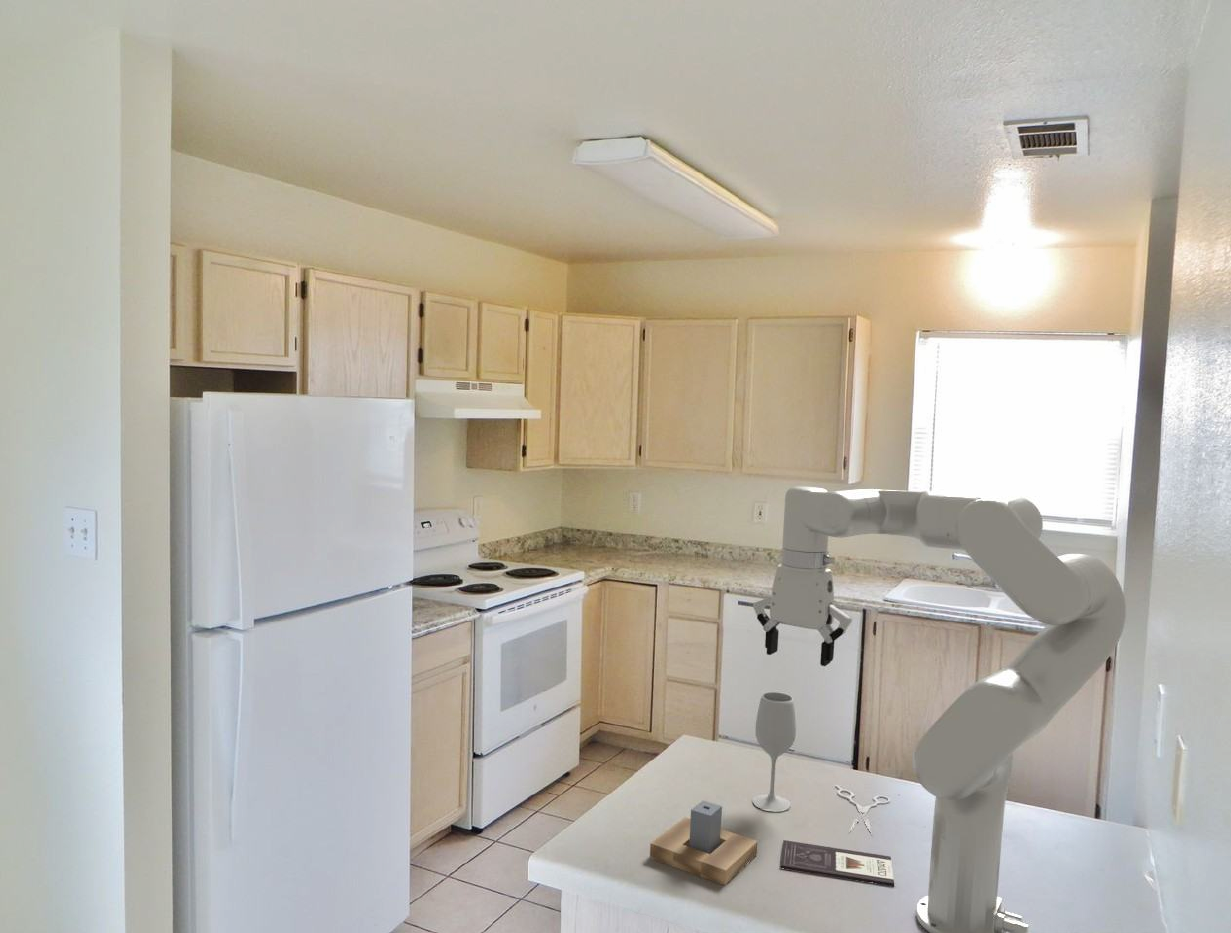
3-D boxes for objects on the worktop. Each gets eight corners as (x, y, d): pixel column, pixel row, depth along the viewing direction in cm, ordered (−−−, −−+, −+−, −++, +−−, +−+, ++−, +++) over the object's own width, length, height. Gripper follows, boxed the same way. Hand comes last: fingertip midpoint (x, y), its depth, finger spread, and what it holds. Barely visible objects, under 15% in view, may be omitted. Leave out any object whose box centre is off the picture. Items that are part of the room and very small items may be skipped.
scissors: (890, 793, 178) (891, 838, 159) (889, 796, 178) (891, 842, 159) (835, 784, 181) (830, 827, 162) (835, 788, 181) (830, 831, 162)
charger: (719, 854, 151) (722, 804, 150) (707, 865, 147) (710, 814, 147) (700, 848, 153) (702, 799, 152) (688, 858, 149) (691, 808, 148)
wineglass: (743, 798, 173) (749, 692, 172) (776, 792, 176) (782, 688, 175) (766, 815, 166) (772, 705, 165) (799, 809, 169) (805, 701, 168)
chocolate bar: (783, 839, 156) (890, 856, 152) (783, 845, 156) (890, 861, 152) (780, 865, 147) (894, 883, 143) (780, 870, 147) (893, 889, 143)
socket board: (756, 855, 151) (757, 840, 151) (725, 885, 141) (726, 870, 141) (684, 830, 159) (685, 816, 159) (649, 857, 149) (650, 843, 149)
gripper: (861, 563, 149) (855, 663, 151) (765, 550, 159) (760, 644, 160) (846, 569, 143) (840, 673, 144) (747, 555, 153) (742, 653, 154)
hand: (798, 658), depth 152 cm, fingers open, 9 cm apart
